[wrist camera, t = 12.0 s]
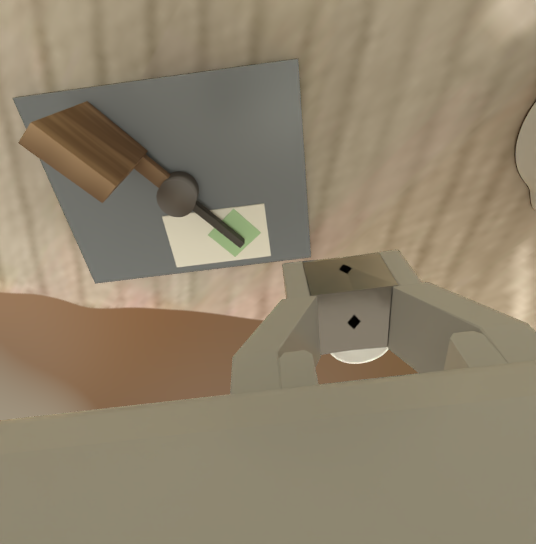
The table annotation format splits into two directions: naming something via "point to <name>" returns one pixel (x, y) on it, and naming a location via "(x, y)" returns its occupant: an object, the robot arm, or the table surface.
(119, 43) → the table surface
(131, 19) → the table surface
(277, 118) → the tuner board
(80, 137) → the lever
